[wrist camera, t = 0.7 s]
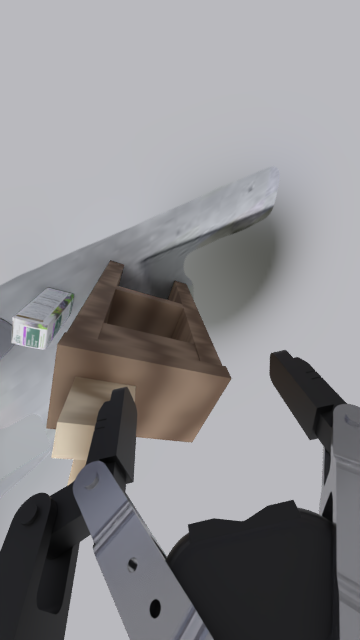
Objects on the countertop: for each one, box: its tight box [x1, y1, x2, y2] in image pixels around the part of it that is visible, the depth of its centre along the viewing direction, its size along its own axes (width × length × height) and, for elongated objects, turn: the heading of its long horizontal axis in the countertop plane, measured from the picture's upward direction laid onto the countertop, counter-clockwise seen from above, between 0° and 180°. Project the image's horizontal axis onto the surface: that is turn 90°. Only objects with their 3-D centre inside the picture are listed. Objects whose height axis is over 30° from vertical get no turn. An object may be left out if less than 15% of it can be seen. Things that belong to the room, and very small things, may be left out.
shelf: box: [46, 260, 231, 442], centre depth 38 cm, size 18×12×32 cm, turn 70°
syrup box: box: [11, 288, 74, 350], centre depth 44 cm, size 6×6×14 cm
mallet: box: [52, 377, 136, 486], centre depth 24 cm, size 6×20×5 cm, turn 160°
